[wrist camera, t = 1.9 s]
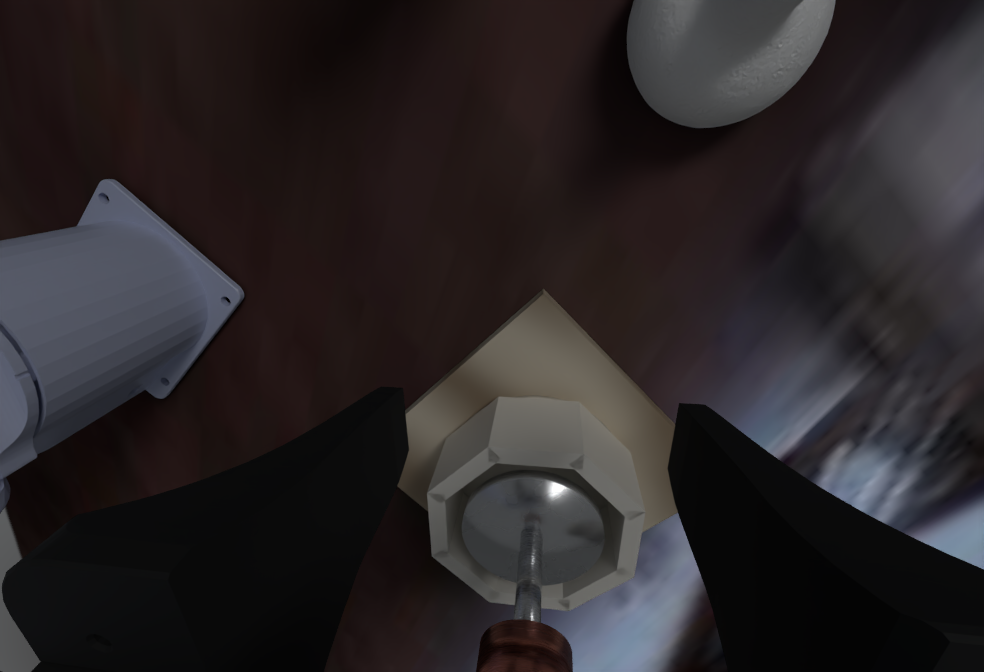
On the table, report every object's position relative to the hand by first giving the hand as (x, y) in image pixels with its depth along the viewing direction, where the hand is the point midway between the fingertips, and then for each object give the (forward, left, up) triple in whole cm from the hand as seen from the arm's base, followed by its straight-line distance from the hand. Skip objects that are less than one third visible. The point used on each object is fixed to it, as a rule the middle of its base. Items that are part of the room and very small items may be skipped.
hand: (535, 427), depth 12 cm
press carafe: (-7, -7, -10) cm, 14 cm away
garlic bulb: (+11, +3, -11) cm, 16 cm away
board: (-7, -7, -10) cm, 14 cm away
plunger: (-7, -7, -6) cm, 11 cm away
